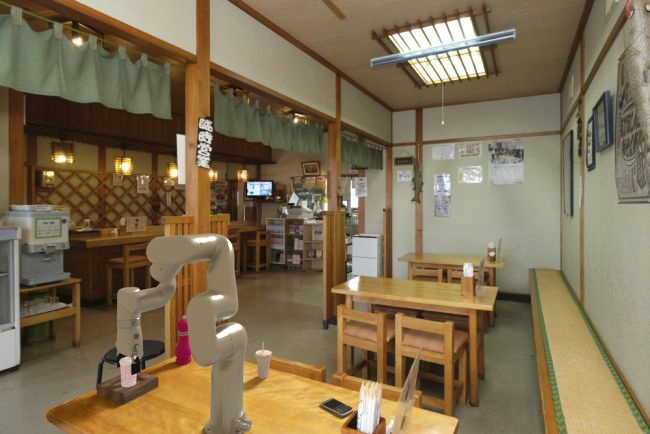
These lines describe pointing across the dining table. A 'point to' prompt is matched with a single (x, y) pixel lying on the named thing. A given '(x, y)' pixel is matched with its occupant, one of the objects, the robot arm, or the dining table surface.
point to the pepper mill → (183, 343)
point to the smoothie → (263, 362)
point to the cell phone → (337, 407)
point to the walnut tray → (127, 388)
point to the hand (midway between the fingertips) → (128, 369)
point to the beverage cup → (127, 372)
